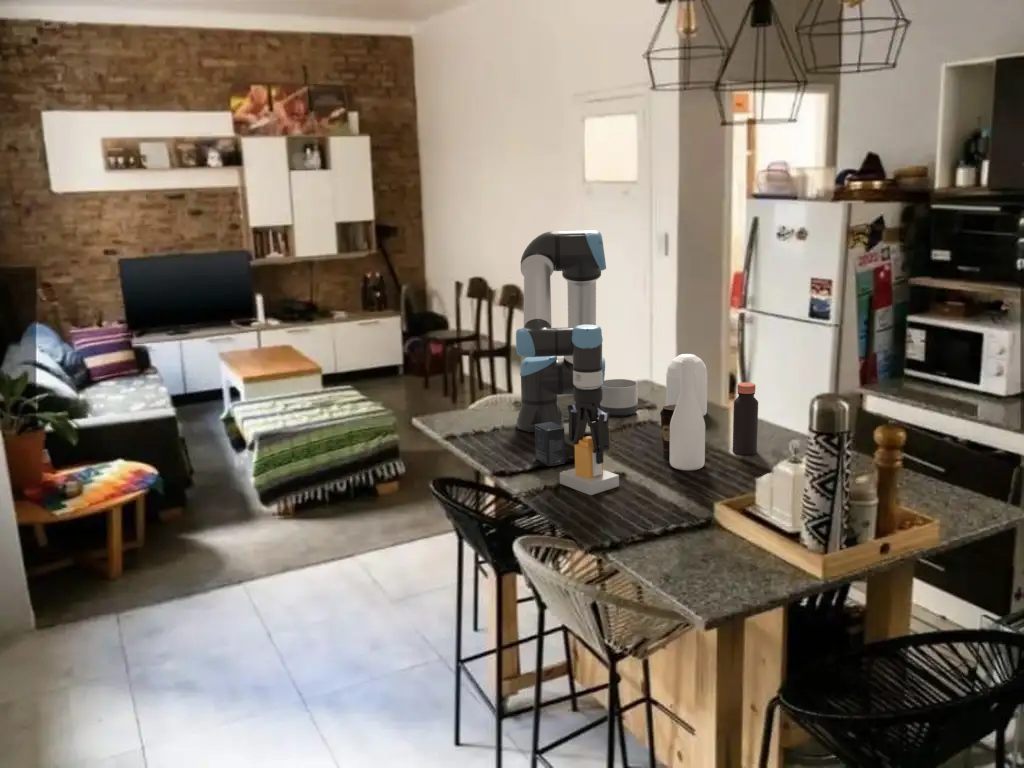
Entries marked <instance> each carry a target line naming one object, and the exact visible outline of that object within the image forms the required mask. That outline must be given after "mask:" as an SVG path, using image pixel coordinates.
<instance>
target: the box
mask: <svg viewBox="0 0 1024 768" xmlns="http://www.w3.org/2000/svg"><path fill="white" fill-rule="evenodd" d="M534 444H535V448H534V449H535V450H534V451H535V460H537V461H538V460H539V462H540V463H542V464H544V465H545V466H548V467H551V466H557V465H562V464H566V443H565V427H564V426H563V427H561V426H559V425H557V424H555V423H553V422H547V423H540V424H535V433H534Z"/></svg>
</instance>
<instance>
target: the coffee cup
mask: <svg viewBox="0 0 1024 768" xmlns="http://www.w3.org/2000/svg"><path fill="white" fill-rule="evenodd" d="M675 407H676V405H668V406H666V405H663V406H662V410H660V413H659V414H660V424H661V425H660V426H661V439H662V447H663V450H664V451H665V452H668V453H670V422H671V419H672V416H673V413H674V410H675Z"/></svg>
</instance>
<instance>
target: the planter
mask: <svg viewBox="0 0 1024 768" xmlns="http://www.w3.org/2000/svg"><path fill="white" fill-rule="evenodd" d="M638 398H639V397H638V382H637V381H636V380H634V379H633V380H632V379H627V378H612V379H610V378H609V379H604V384H603V399H602V401H601V402H600V406H601V409H602V411H603V412H604V413H609V415H610V416H609V417H614V418H615V417H617V418H621V417H622V418H623V417H624V418H625V417H628V416H631V415H633V414H635V413H636V412H637V411H638V409H639V408H638V400H639V399H638Z"/></svg>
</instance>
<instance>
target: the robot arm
mask: <svg viewBox="0 0 1024 768" xmlns="http://www.w3.org/2000/svg"><path fill="white" fill-rule="evenodd" d="M604 249H605V248H604V242H603V236H602V233H601V232H600V231H598V230H589V229H588V230H587V229H584V230H566V231H565V230H563V231H562V230H561V231H555V230H551V231H547V232H544V233H542V234H539V235H538V236H537V237H534V239H533V240H531V242H529V244H528V245H527V246H526V248H525V249H524V251H523V253H522V256H521V257H520V258H521V259H520V273H521V275H522V276H523V328H518V329H517V330H516V332H515V344H516V345H515V348H516V349H515V350H516V353H517V354H516V355H518V357H520V358H521V357H525V358H524V359H522V361H521V362H520V373H519V376H520V394H521V397H520V398H521V399H520V401H521V405H520V408H519V411H518V417H517V419H516V428H517V427H518V428H519V429H521V430H524V431H528V432H527V433H530V432H535V424H540V423H547V422H553V423H555V424H557V425H559V426H561V427H564V417H563V414H562V411H561V408H560V405H559V402H558V400H559V399H558V396H569V395H570V396H573V397H572V398H573V401H574V402H575V403H572V404H569V405H567V411H568V441H569V442H572V444H573V445H574V446H575V444H579V440H582V439H583V437H585V435H586V431H587V426H588V427H589V431H590V436H591V437H592V440H593V445H594V451H593V452H592V473H593V476H597V475H600V474H602V463H603V464H604V452H605V451H607V450H610V434H609V433H610V432H609V429H610V428H609V420H610V417H611V416H610V415H609V413H604V412H603V411H602V409H601V406H600V402H601V401H602V399H603V384H604V380H605V375H606V359H605V357H603V339H604V338H603V333H602V327H601V326H599V325H597V281H598V280H599V279H600V278H601V276H602V272H603V271H605V270H607V266H606V265H607V264H606V257H605V255H606V254H605V250H604ZM554 272H561V274H562V278H563V280H566V281H567V327H552V299H551V298H552V296H551V295H552V294H551V293H552V292H551V288H552V287H551V276H552V275H553V273H554ZM558 357H563V358H558ZM518 428H517V429H518ZM519 429H518V430H519ZM521 430H520V431H521ZM524 431H523V432H524ZM598 446H599V447H598Z"/></svg>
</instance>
